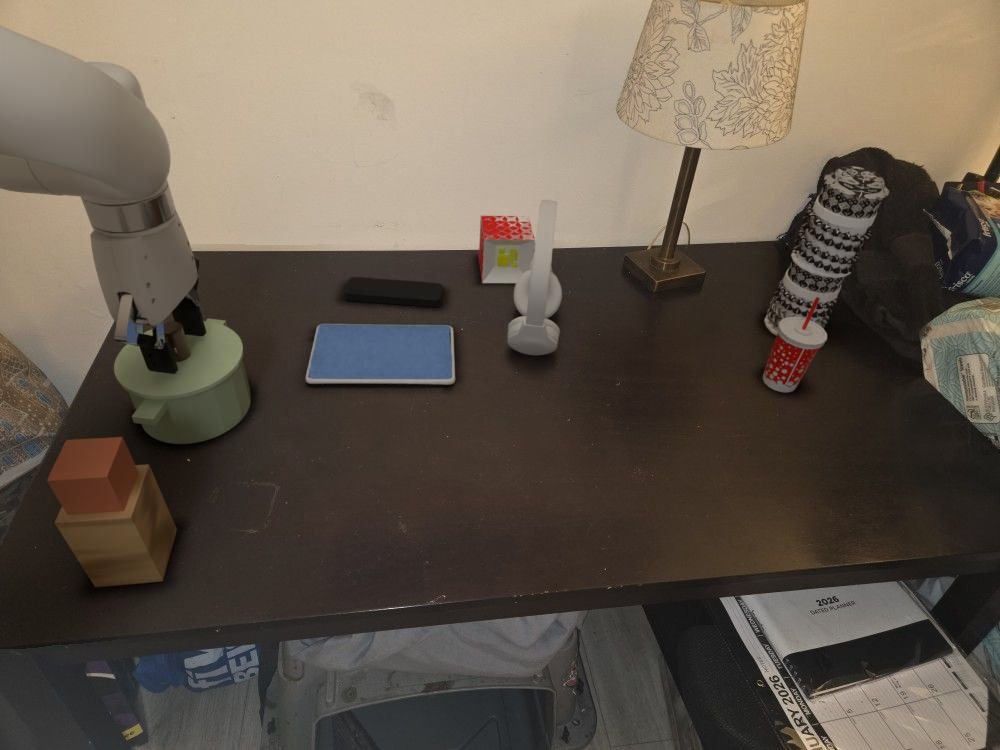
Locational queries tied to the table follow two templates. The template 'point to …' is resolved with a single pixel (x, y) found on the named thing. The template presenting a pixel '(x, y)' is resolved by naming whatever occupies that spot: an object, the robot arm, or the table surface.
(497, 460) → the table surface
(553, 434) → the table surface
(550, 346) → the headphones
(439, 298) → the remote control
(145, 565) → the block
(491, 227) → the red and white cube
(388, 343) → the tablet
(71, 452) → the block
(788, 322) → the beverage cup
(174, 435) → the light green round pot
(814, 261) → the white patterned cylinder
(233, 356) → the lid
